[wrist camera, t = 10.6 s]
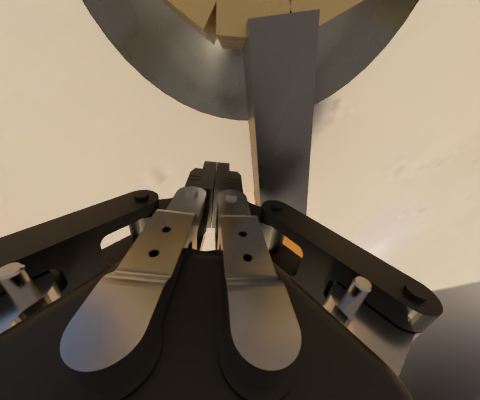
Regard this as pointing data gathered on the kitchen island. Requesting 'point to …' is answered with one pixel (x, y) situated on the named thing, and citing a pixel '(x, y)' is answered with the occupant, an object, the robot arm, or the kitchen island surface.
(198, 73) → the housing
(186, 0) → the segmented ring on plate
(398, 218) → the kitchen island surface
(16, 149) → the kitchen island surface
